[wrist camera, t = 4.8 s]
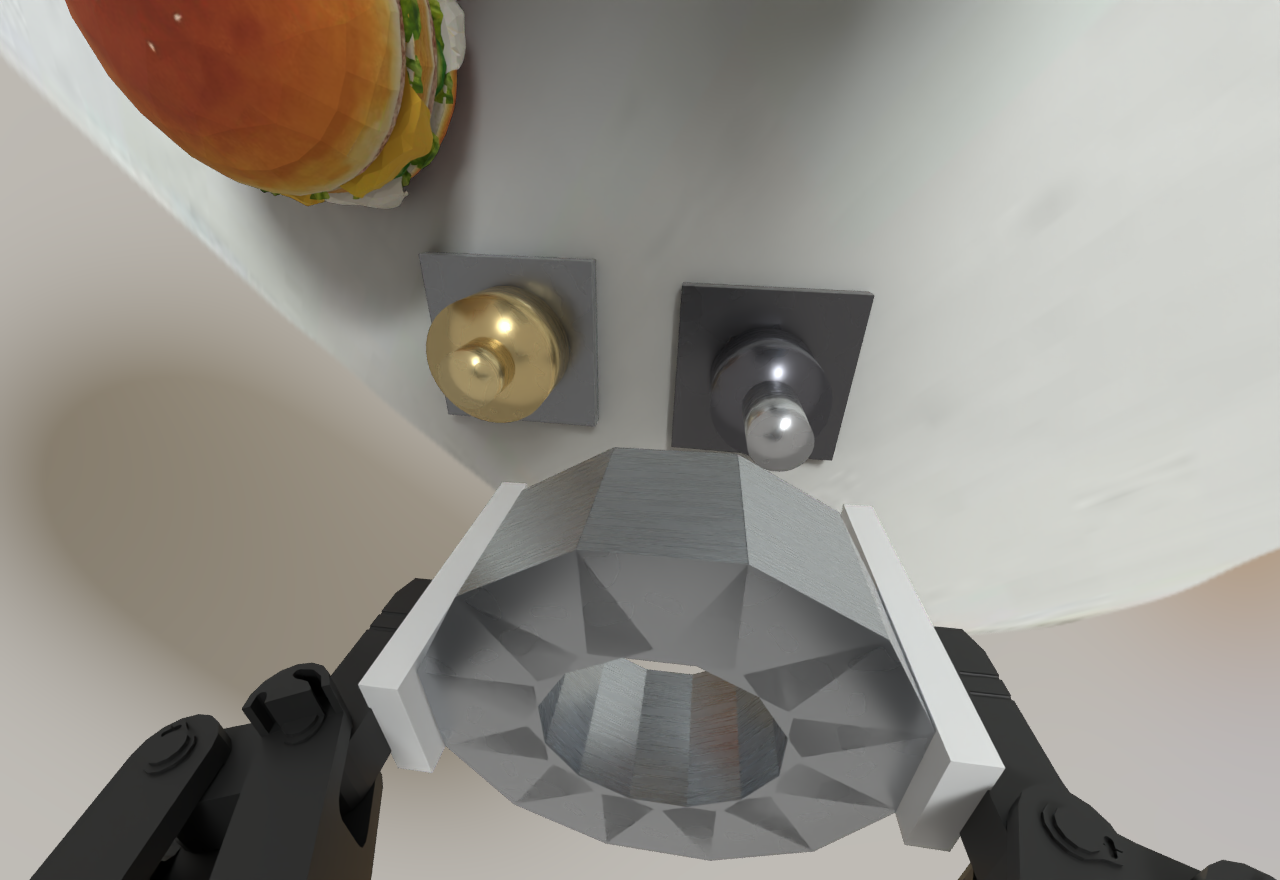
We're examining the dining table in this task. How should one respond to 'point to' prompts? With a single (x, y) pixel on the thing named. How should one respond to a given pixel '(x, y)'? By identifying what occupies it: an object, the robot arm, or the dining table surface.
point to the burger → (290, 86)
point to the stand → (766, 370)
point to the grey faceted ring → (679, 662)
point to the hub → (513, 336)
